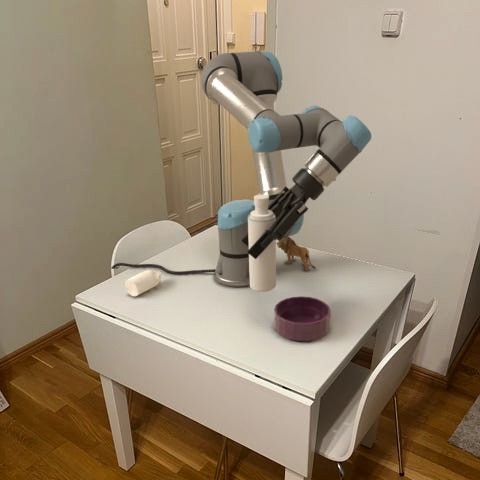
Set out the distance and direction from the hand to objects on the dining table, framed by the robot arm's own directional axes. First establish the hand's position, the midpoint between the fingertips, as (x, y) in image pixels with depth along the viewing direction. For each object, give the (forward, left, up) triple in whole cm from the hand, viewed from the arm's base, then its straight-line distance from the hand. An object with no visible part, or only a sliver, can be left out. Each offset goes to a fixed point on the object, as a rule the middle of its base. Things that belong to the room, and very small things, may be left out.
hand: (248, 249), depth 121 cm
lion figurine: (+6, +39, -21) cm, 44 cm away
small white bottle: (-35, +13, -21) cm, 43 cm away
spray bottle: (+3, +1, -11) cm, 11 cm away
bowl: (+14, 0, -21) cm, 25 cm away
